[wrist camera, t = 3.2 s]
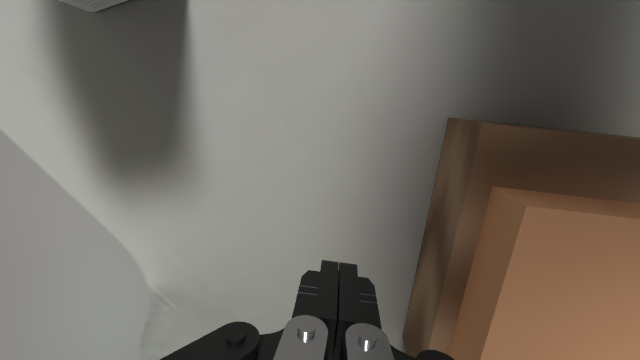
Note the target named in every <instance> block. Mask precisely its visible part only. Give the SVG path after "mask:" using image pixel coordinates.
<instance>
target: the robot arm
mask: <svg viewBox="0 0 640 360" xmlns="http://www.w3.org/2000/svg"><path fill="white" fill-rule="evenodd" d="M338 265H339V271H338ZM331 358H332V360H455V359H453V358H452V357H450V356H449V355H447V354H445V353H443V352H440V351H437V350H424V351H421V352H420V353H419V354H418V355H417V357H416V358H415V357H413V356H410V355H408V354H405V353H403V352H401V351H399V350H397V349H395V348H394V347H393V346H391V345H390V343H389V340H388V338H387V336H386V334H385V333H384V332H383V331H382V329H381V323H380V317H379V311H378V305H377V299H376V293H375V287H374V285H373V284H372V282H371V281H370V280H369V279H368V278H364V277H358V273H357V265H356V264H348V263H341V262H340V264H339V262H333V261H325V260H322V264H321V271H320V272H318V271H310V270H308V271H307V272H306V273H305V274H304V275H303V276H302V278H301V282H300V286H299V290H298V294H297V299H296V303H295V307H294V311H293V315H292V319H291V320H289V321H288V323H287V324H286V326H285V328H284V329H282V330H280V331H278V332H275V333H271V334H263V335H259V332H258V330H257V329H256V327H254V326H253V325H251V324H249V323H246V322H232V323H229V324H226V325H224V326H222V327H220V328H218V329H217V330H215V331H213V332H211V333H209V334H207V335H205V336H203V337H201V338H200V339H198V340H196V341H194V342H192V343H190V344H188V345H186V346H185V347H183V348H181V349H179V350H177V351H175V352H173V353H171V354H169V355H168V356H166V357H164V358H162V359H160V360H331Z"/></svg>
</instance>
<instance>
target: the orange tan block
mask: <svg viewBox="0 0 640 360" xmlns="http://www.w3.org/2000/svg"><path fill="white" fill-rule="evenodd" d="M448 355H449V356H450V357H452V358H453V359H455V360H640V203H631V202H623V201H614V200H606V199H597V198H588V197H580V196H571V195H562V194H554V193H545V192H536V191H528V190H519V189H511V188H502V187H492V191H491V194H490V198H489V202H488V206H487V209H486V213H485V217H484V221H483V225H482V228H481V232H480V236H479V240H478V243H477V247H476V251H475V255H474V259H473V262H472V266H471V270H470V274H469V277H468V281H467V285H466V289H465V293H464V296H463V300H462V304H461V308H460V311H459V315H458V319H457V323H456V327H455V330H454V334H453V338H452V342H451V346H450V349H449V353H448Z"/></svg>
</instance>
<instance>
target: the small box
mask: <svg viewBox="0 0 640 360" xmlns="http://www.w3.org/2000/svg"><path fill="white" fill-rule="evenodd" d="M58 1H61V2H64V3H67V4H69V5H72V6H75V7H77V8H80V9H83V10H86V11H89V12H96V11H99V10H102V9H105V8H108V7H110V6H113V5H116V4H119V3H122V2H125V1H128V0H58Z"/></svg>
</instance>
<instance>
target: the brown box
mask: <svg viewBox="0 0 640 360" xmlns="http://www.w3.org/2000/svg"><path fill="white" fill-rule="evenodd" d="M492 187H502V188H511V189H519V190H528V191H536V192H545V193H554V194H562V195H571V196H580V197H588V198H597V199H606V200H614V201H623V202H631V203H640V138H635V137H626V136H616V135H607V134H597V133H588V132H578V131H569V130H559V129H550V128H540V127H531V126H521V125H512V124H502V123H493V122H483V121H474V120H465V119H455V118H448V123H447V128H446V133H445V137H444V142H443V147H442V152H441V156H440V161H439V166H438V171H437V175H436V180H435V185H434V190H433V194H432V199H431V204H430V209H429V213H428V218H427V223H426V228H425V232H424V237H423V242H422V247H421V251H420V256H419V261H418V266H417V270H416V275H415V280H414V285H413V289H412V294H411V299H410V304H409V308H408V313H407V318H406V323H405V327H404V332H403V340H404V344H405V348H406V352H407V354H408V355H410V356H413V357H415V358H416V357H417V355H418V354H419V353H420V352H421V351H424V350H437V351H440V352H443V353H445V354H447V355H448V353H449V349H450V346H451V342H452V338H453V334H454V330H455V327H456V323H457V319H458V315H459V311H460V308H461V304H462V300H463V296H464V293H465V289H466V285H467V281H468V277H469V274H470V270H471V266H472V262H473V259H474V255H475V251H476V247H477V243H478V240H479V236H480V232H481V228H482V225H483V221H484V217H485V213H486V209H487V206H488V202H489V198H490V194H491V191H492Z"/></svg>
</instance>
